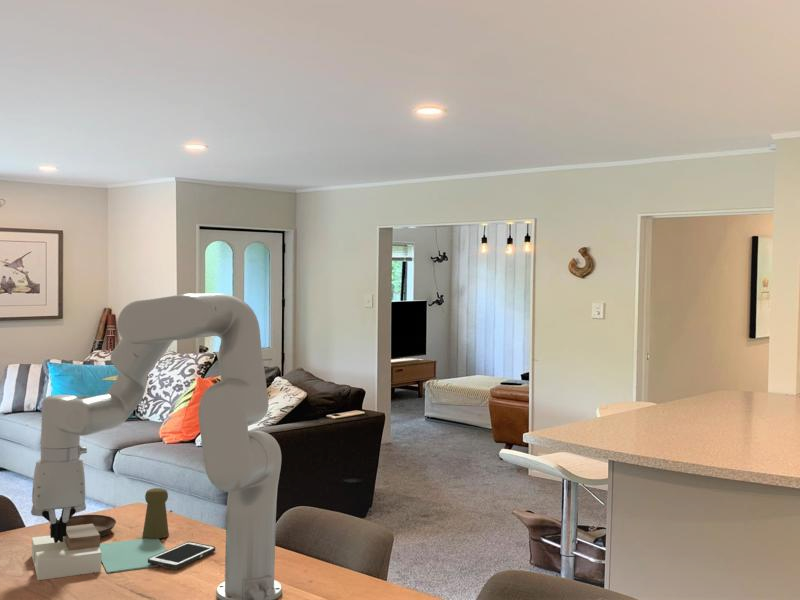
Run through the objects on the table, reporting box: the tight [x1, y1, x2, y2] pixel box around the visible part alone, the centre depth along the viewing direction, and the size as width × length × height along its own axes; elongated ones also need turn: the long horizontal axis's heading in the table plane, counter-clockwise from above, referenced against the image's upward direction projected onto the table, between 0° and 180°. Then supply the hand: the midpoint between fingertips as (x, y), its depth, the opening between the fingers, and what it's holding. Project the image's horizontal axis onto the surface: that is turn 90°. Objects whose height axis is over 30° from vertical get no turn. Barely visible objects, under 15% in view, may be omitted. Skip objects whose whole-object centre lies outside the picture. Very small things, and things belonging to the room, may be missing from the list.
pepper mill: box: [142, 487, 170, 539], centre depth 191 cm, size 6×6×11 cm
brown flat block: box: [63, 523, 101, 551], centre depth 173 cm, size 9×6×2 cm, turn 30°
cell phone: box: [148, 541, 216, 570], centre depth 176 cm, size 8×15×1 cm, turn 158°
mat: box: [99, 538, 168, 574], centre depth 178 cm, size 19×14×1 cm
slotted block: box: [31, 535, 102, 581], centre depth 171 cm, size 16×12×4 cm
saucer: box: [49, 514, 117, 538], centre depth 192 cm, size 15×15×3 cm
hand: (58, 540), depth 171 cm, fingers closed
